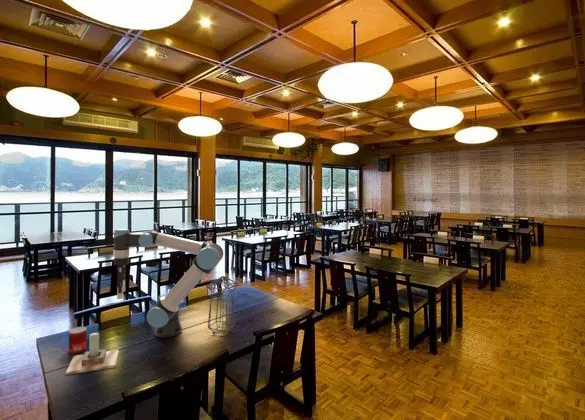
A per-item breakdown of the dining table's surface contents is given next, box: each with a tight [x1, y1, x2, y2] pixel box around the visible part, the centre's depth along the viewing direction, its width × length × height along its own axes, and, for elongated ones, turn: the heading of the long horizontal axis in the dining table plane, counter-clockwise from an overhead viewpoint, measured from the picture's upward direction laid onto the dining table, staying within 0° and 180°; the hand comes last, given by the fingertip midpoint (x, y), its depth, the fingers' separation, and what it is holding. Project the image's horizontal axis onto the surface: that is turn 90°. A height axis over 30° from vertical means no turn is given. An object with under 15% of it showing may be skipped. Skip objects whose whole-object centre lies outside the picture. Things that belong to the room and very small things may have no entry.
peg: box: [88, 332, 100, 358], centre depth 161 cm, size 4×4×14 cm
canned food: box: [68, 326, 88, 354], centre depth 173 cm, size 8×8×11 cm
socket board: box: [65, 348, 120, 375], centre depth 162 cm, size 20×16×4 cm
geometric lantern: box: [205, 275, 239, 336], centre depth 199 cm, size 16×16×35 cm
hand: (121, 295), depth 183 cm, fingers open, 13 cm apart
